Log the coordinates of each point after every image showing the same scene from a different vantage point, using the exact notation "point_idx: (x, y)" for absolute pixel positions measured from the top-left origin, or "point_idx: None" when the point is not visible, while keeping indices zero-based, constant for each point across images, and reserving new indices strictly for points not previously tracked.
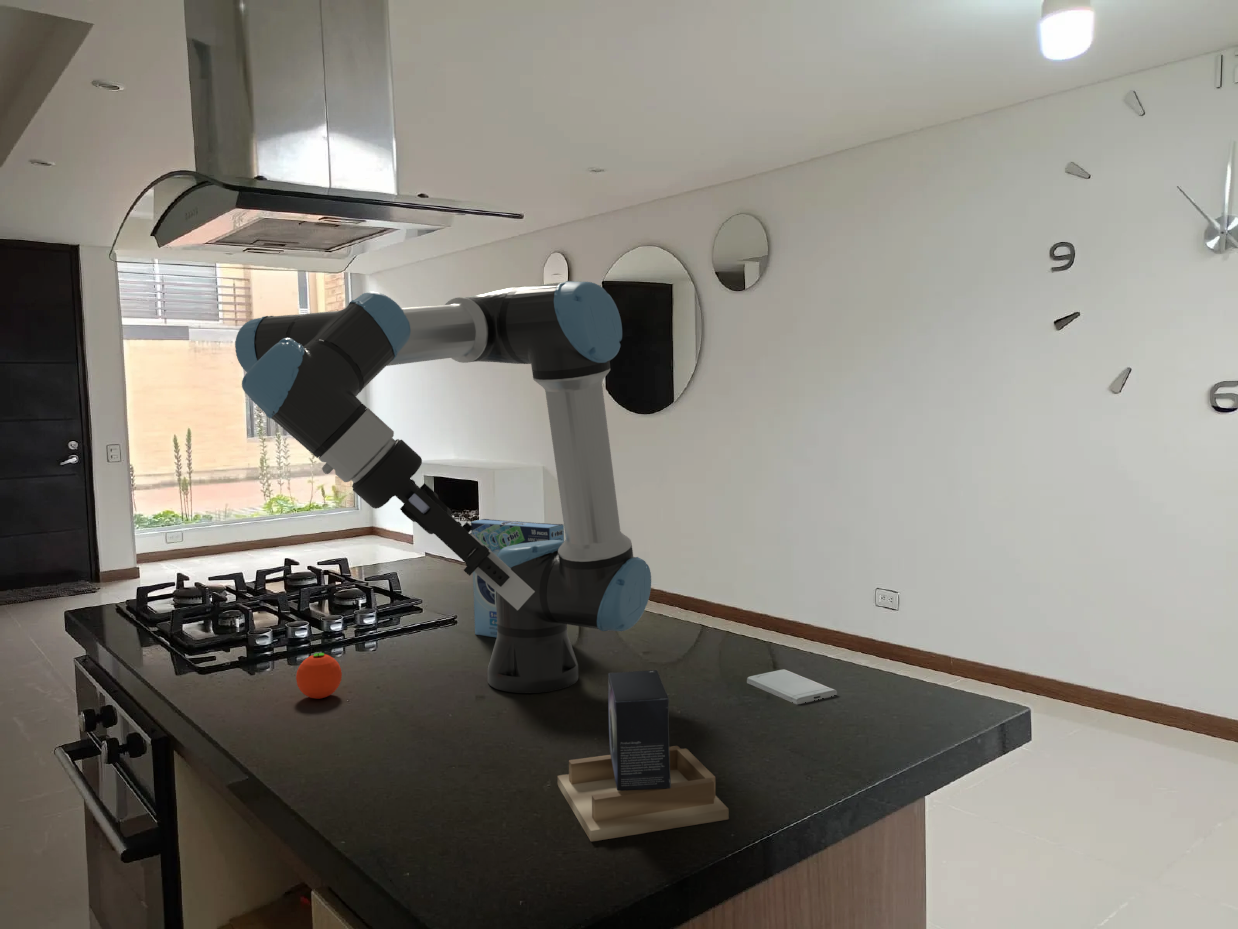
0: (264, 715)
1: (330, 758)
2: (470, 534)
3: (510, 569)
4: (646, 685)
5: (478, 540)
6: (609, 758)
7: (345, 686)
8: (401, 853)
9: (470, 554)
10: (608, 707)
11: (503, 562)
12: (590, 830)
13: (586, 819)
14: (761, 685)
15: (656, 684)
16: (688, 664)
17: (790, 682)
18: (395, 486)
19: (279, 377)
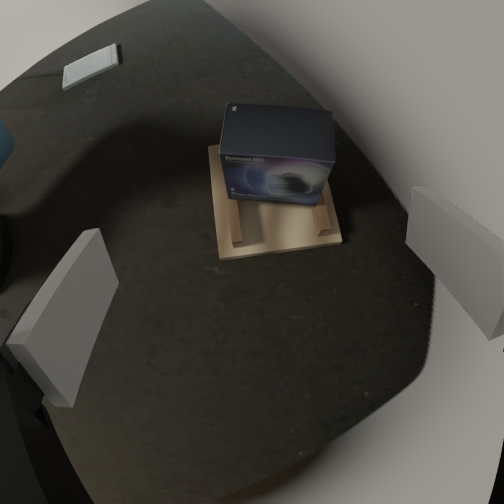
0: None
1: (116, 468)
2: (24, 349)
3: (477, 221)
4: (288, 121)
5: (42, 316)
6: (235, 201)
7: None
8: (332, 404)
9: (75, 352)
10: (248, 175)
11: (88, 242)
12: (341, 241)
13: (321, 242)
14: (79, 80)
15: (286, 111)
16: (12, 128)
17: (88, 63)
18: None
19: None
